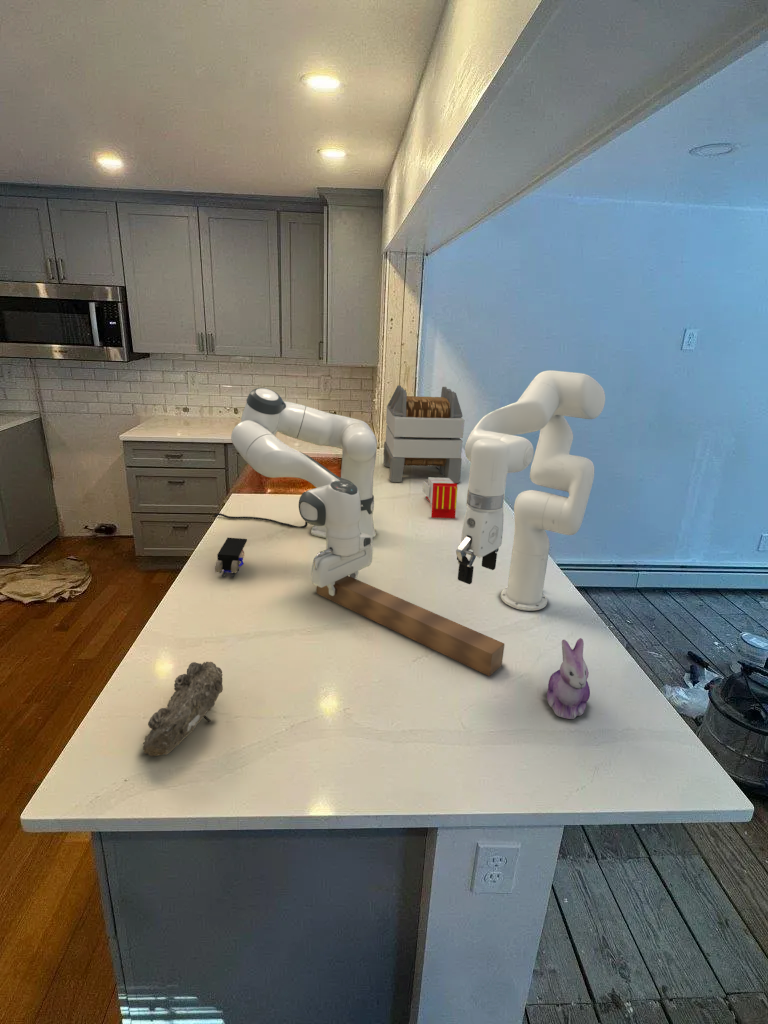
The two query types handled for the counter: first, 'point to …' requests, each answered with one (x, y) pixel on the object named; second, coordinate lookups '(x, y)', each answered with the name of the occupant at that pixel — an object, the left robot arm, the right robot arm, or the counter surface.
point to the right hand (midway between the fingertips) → (476, 574)
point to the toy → (441, 497)
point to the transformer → (424, 433)
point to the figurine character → (230, 556)
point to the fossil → (184, 708)
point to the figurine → (569, 683)
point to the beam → (419, 624)
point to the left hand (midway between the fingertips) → (342, 590)
